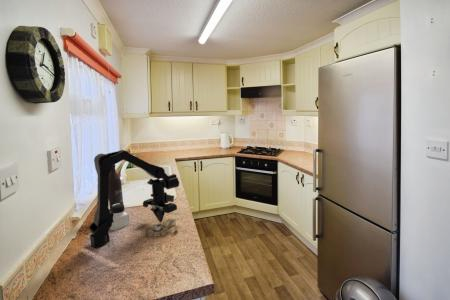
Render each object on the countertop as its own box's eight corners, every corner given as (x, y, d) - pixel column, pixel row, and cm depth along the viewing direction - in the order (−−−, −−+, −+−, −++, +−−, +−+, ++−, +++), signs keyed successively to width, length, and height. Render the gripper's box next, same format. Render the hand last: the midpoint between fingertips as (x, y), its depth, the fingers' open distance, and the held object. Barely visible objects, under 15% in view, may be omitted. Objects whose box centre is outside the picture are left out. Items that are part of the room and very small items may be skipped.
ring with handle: (156, 238, 115) (156, 231, 115) (144, 233, 120) (143, 227, 120) (180, 225, 127) (180, 219, 127) (168, 221, 132) (167, 216, 132)
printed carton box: (130, 227, 131) (127, 204, 129) (116, 232, 126) (113, 208, 124) (123, 223, 136) (121, 201, 134) (109, 228, 131) (107, 205, 129)
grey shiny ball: (157, 234, 119) (157, 228, 119) (153, 232, 121) (153, 226, 121) (162, 231, 122) (161, 225, 121) (158, 230, 123) (157, 224, 123)
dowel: (176, 233, 120) (176, 226, 119) (174, 232, 121) (173, 225, 120) (179, 231, 121) (178, 224, 121) (176, 231, 122) (176, 224, 122)
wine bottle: (118, 219, 141) (112, 165, 136) (107, 218, 143) (102, 164, 139) (127, 215, 147) (122, 162, 143) (117, 213, 150) (111, 162, 145)
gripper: (183, 189, 129) (185, 219, 131) (158, 185, 140) (160, 212, 142) (167, 196, 120) (169, 228, 122) (140, 190, 131) (143, 220, 133)
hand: (160, 221), depth 130 cm, fingers closed
